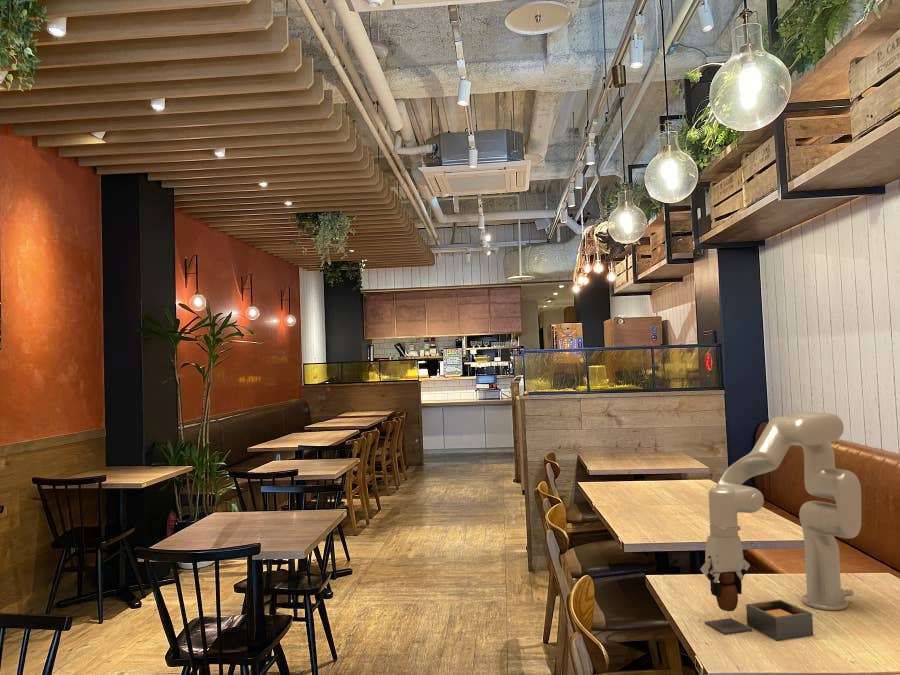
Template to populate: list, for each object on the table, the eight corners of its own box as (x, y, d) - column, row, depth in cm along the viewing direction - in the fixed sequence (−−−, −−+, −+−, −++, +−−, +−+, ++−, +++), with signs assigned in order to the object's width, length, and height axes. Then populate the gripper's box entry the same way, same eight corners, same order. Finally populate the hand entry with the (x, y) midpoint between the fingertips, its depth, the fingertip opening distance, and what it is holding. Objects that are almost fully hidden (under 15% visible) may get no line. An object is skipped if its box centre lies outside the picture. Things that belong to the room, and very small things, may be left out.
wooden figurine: (740, 613, 194) (738, 560, 195) (718, 613, 195) (716, 559, 196) (735, 605, 201) (733, 553, 201) (714, 604, 202) (712, 553, 202)
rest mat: (731, 620, 203) (731, 618, 203) (752, 631, 195) (752, 628, 195) (704, 623, 201) (704, 621, 201) (724, 635, 192) (724, 632, 192)
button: (780, 614, 199) (780, 608, 199) (798, 622, 192) (798, 617, 192) (759, 617, 197) (759, 611, 197) (777, 626, 190) (777, 620, 190)
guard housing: (781, 620, 202) (780, 599, 202) (813, 635, 190) (812, 613, 191) (747, 625, 199) (746, 604, 199) (776, 640, 187) (775, 618, 187)
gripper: (740, 526, 205) (743, 587, 204) (689, 531, 200) (692, 593, 199) (758, 531, 198) (760, 595, 197) (705, 536, 193) (708, 601, 192)
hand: (726, 593), depth 198 cm, fingers closed on wooden figurine, 6 cm apart
